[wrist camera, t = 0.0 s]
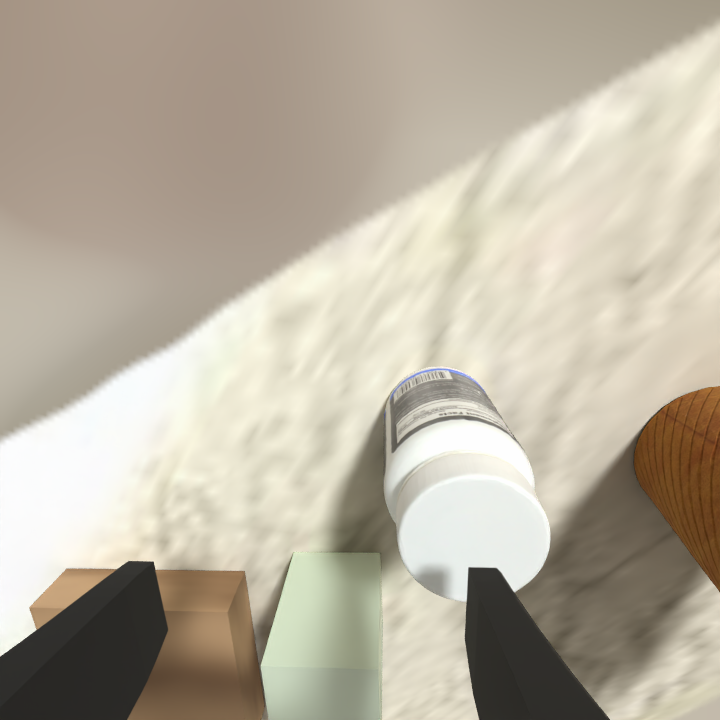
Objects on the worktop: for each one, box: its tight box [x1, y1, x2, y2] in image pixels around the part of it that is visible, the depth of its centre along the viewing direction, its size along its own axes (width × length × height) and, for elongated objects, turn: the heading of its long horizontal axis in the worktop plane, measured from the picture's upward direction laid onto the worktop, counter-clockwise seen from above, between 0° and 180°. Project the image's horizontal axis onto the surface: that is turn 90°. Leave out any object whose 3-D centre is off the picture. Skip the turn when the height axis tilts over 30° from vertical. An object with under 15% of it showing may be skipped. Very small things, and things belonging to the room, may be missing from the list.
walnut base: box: [29, 569, 265, 720], centre depth 23 cm, size 10×10×2 cm
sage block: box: [261, 552, 383, 720], centre depth 19 cm, size 4×4×6 cm
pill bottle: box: [383, 366, 550, 602], centre depth 15 cm, size 5×5×8 cm
